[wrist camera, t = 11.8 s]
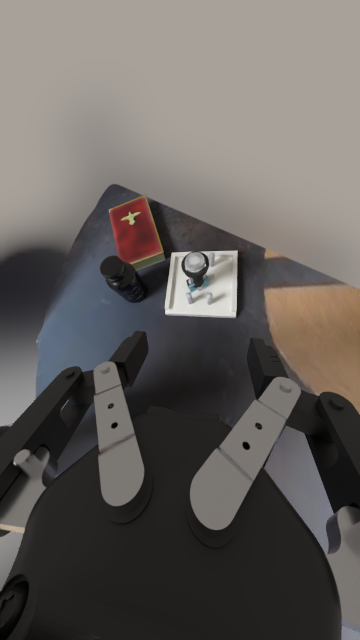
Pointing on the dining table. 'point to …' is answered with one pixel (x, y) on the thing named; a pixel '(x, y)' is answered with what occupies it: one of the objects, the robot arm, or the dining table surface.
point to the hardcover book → (136, 233)
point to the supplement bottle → (123, 279)
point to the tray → (214, 296)
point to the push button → (196, 270)
